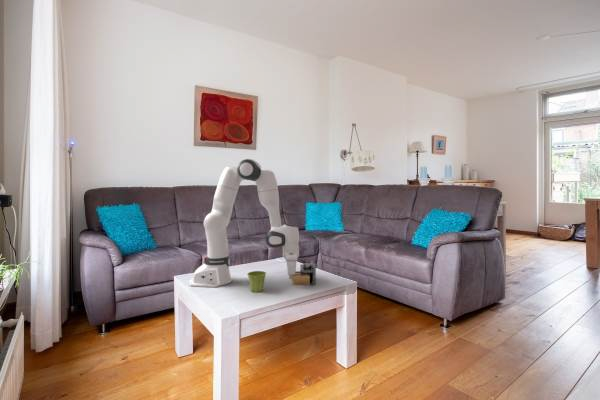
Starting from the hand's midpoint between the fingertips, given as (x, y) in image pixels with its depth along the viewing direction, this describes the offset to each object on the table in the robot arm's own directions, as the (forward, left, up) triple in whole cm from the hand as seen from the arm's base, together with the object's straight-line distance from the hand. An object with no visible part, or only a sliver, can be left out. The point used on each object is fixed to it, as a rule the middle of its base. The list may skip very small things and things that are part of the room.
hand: (290, 278), depth 175 cm
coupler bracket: (+10, 0, -2) cm, 10 cm away
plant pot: (-18, -11, -2) cm, 21 cm away
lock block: (+5, 0, -2) cm, 6 cm away
